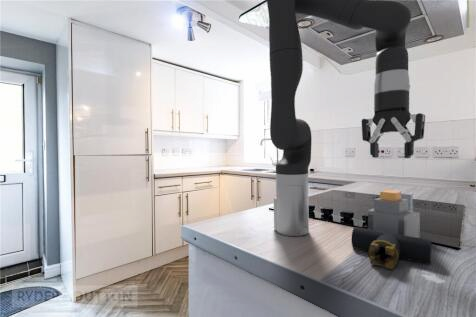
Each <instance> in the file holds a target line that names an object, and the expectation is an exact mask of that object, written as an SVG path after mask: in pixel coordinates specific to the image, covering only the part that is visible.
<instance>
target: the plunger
mask: <svg viewBox="0 0 476 317" xmlns="http://www.w3.org/2000/svg"><path fill="white" fill-rule="evenodd" d="M379 192H380V194H379V196H380V197H379V198H380V200H387V201H394V202H398V201H400V200H401V193H402V191H398V190H390V189H389V190H388V189H385V190H382V191H379Z"/></svg>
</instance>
